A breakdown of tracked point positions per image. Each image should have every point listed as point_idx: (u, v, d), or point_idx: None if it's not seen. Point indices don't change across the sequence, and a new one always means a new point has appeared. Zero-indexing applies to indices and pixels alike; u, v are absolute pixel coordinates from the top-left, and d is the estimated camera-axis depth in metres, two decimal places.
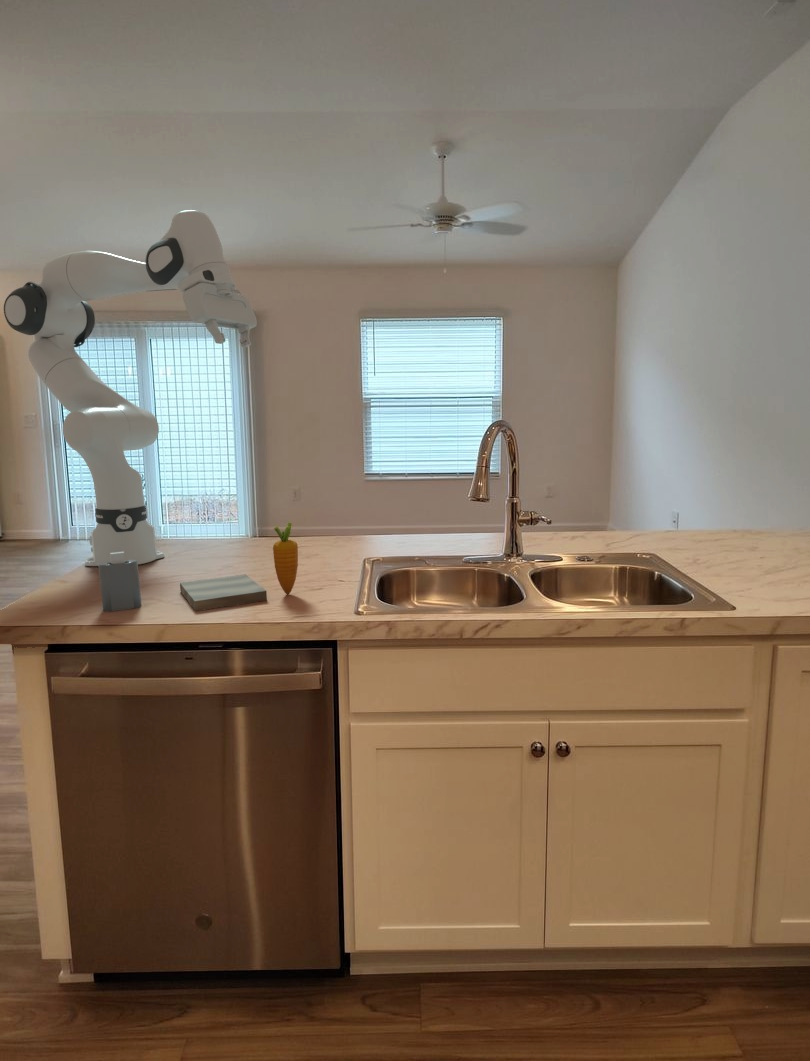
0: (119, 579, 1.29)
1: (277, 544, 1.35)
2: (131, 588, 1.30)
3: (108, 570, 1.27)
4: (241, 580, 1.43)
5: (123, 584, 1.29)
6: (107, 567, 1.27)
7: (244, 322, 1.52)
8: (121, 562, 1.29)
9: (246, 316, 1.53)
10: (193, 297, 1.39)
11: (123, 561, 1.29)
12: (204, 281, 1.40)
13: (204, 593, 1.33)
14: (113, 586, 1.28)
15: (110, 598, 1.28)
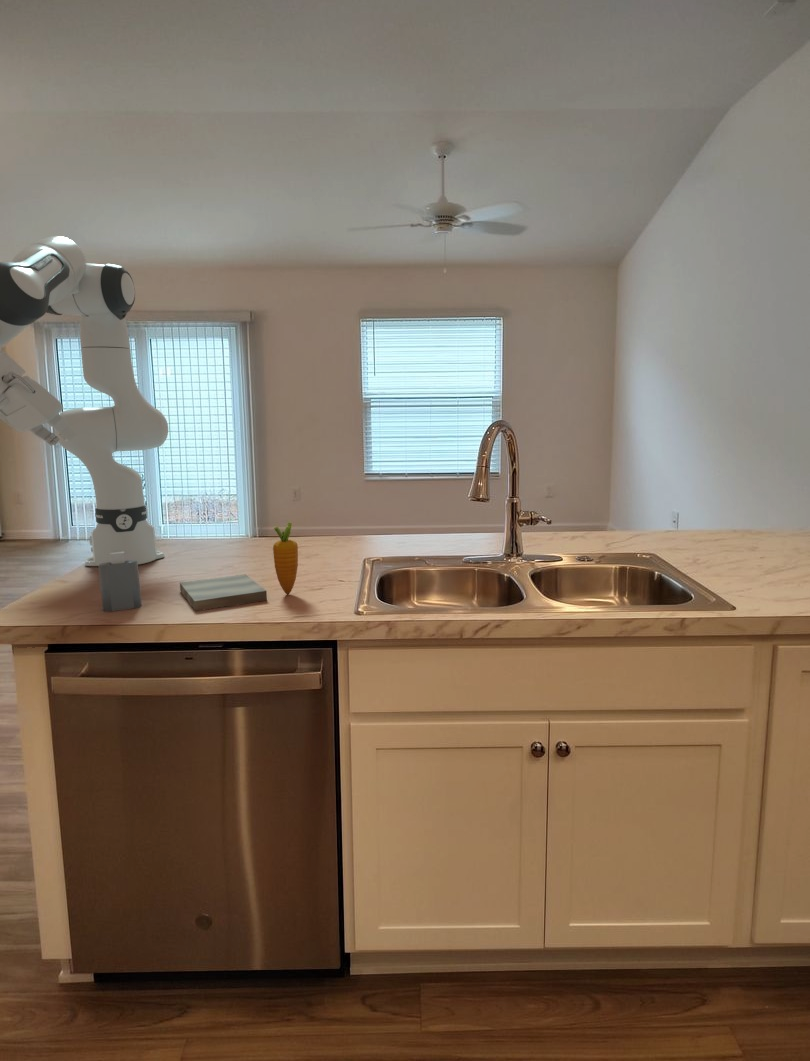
0: (119, 579, 1.29)
1: (277, 544, 1.35)
2: (131, 588, 1.30)
3: (108, 570, 1.27)
4: (241, 580, 1.43)
5: (123, 584, 1.29)
6: (107, 567, 1.27)
7: (40, 423, 1.14)
8: (121, 562, 1.29)
9: (34, 416, 1.12)
10: None
11: (123, 561, 1.29)
12: None
13: (204, 593, 1.33)
14: (113, 586, 1.28)
15: (110, 598, 1.28)
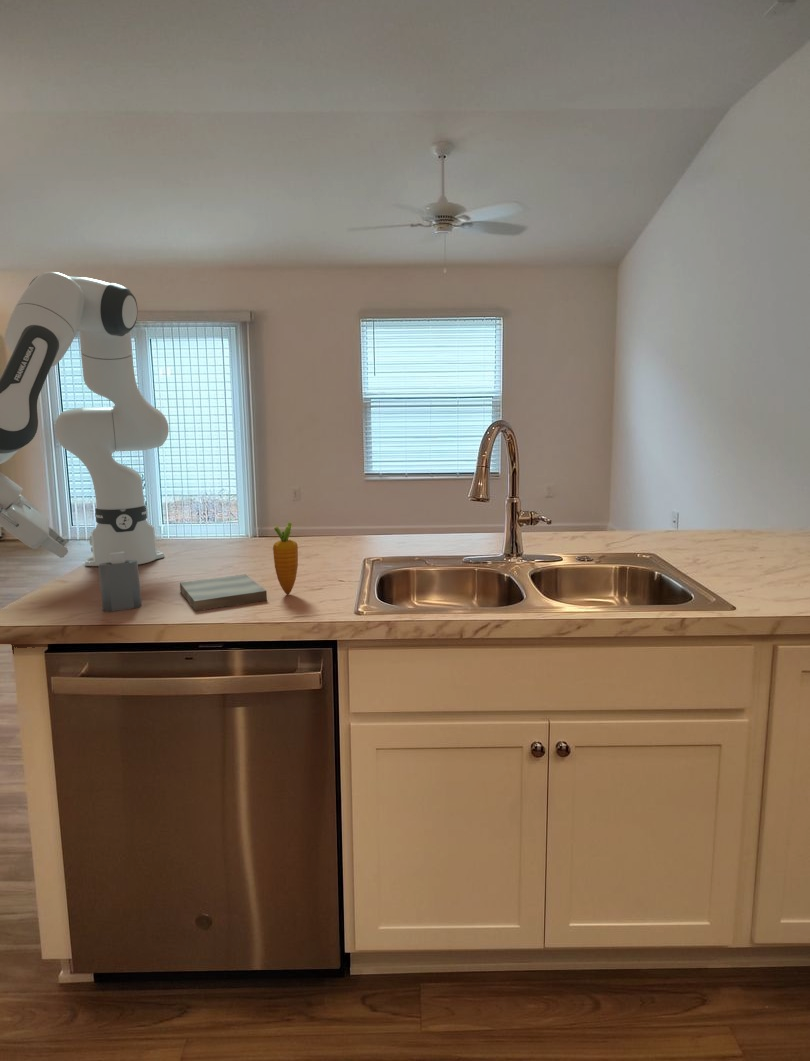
0: (119, 579, 1.29)
1: (277, 544, 1.35)
2: (131, 588, 1.30)
3: (108, 570, 1.27)
4: (241, 580, 1.43)
5: (123, 584, 1.29)
6: (107, 567, 1.27)
7: None
8: (121, 562, 1.29)
9: None
10: None
11: (123, 561, 1.29)
12: None
13: (204, 593, 1.33)
14: (113, 586, 1.28)
15: (110, 598, 1.28)
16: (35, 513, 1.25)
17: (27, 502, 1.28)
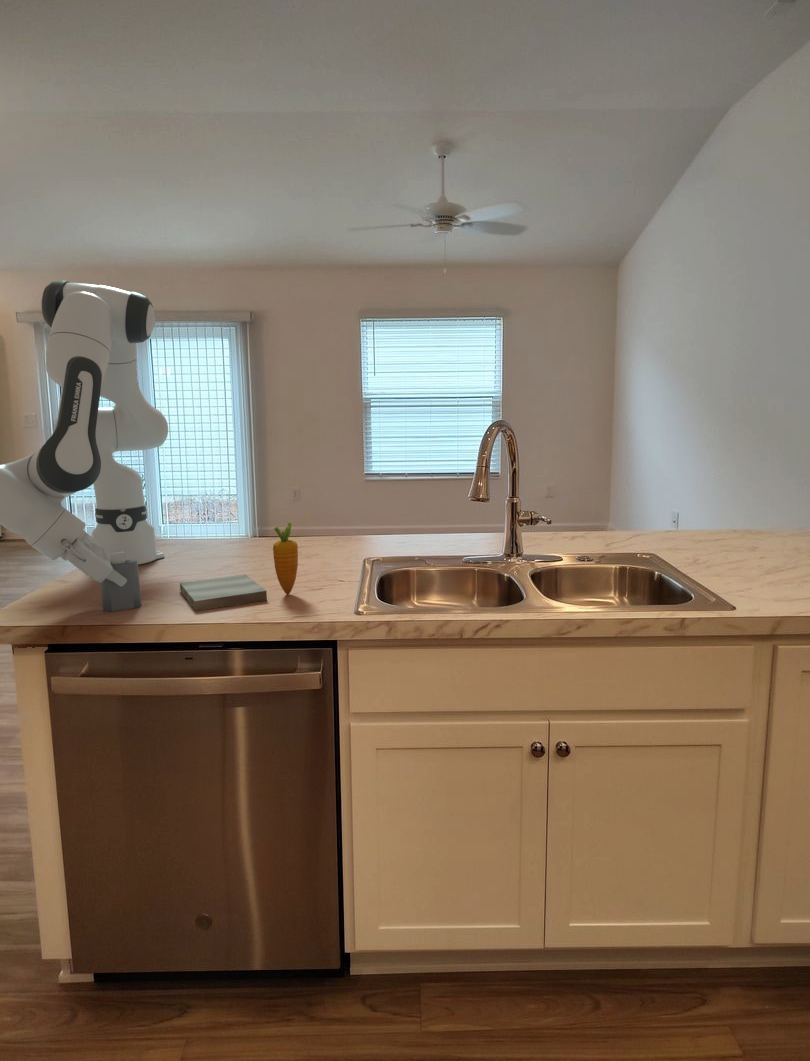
0: None
1: (277, 544, 1.35)
2: (131, 588, 1.30)
3: None
4: (241, 580, 1.43)
5: None
6: None
7: None
8: (121, 562, 1.29)
9: None
10: None
11: (123, 561, 1.29)
12: None
13: (204, 593, 1.33)
14: (113, 586, 1.28)
15: (110, 598, 1.28)
16: (95, 545, 1.31)
17: None
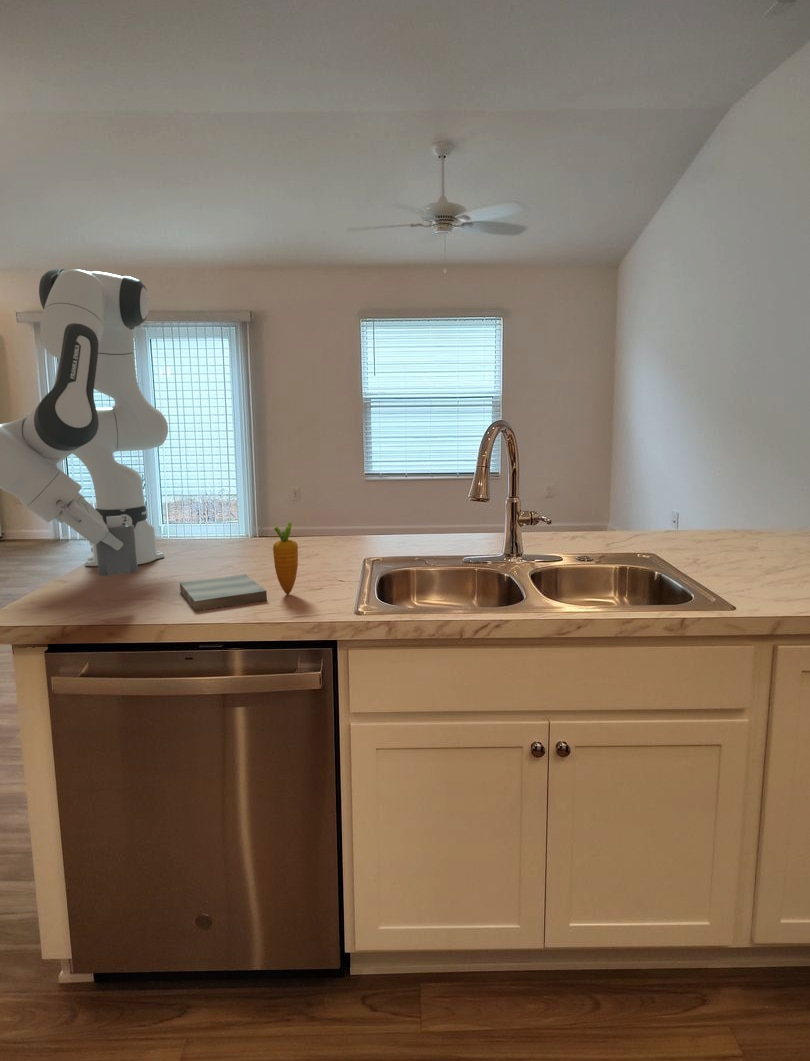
0: None
1: (277, 544, 1.35)
2: (127, 552, 1.29)
3: None
4: (241, 580, 1.43)
5: None
6: None
7: None
8: (117, 526, 1.28)
9: None
10: None
11: (119, 525, 1.28)
12: None
13: (204, 593, 1.33)
14: (109, 550, 1.27)
15: (106, 562, 1.27)
16: (91, 509, 1.29)
17: None
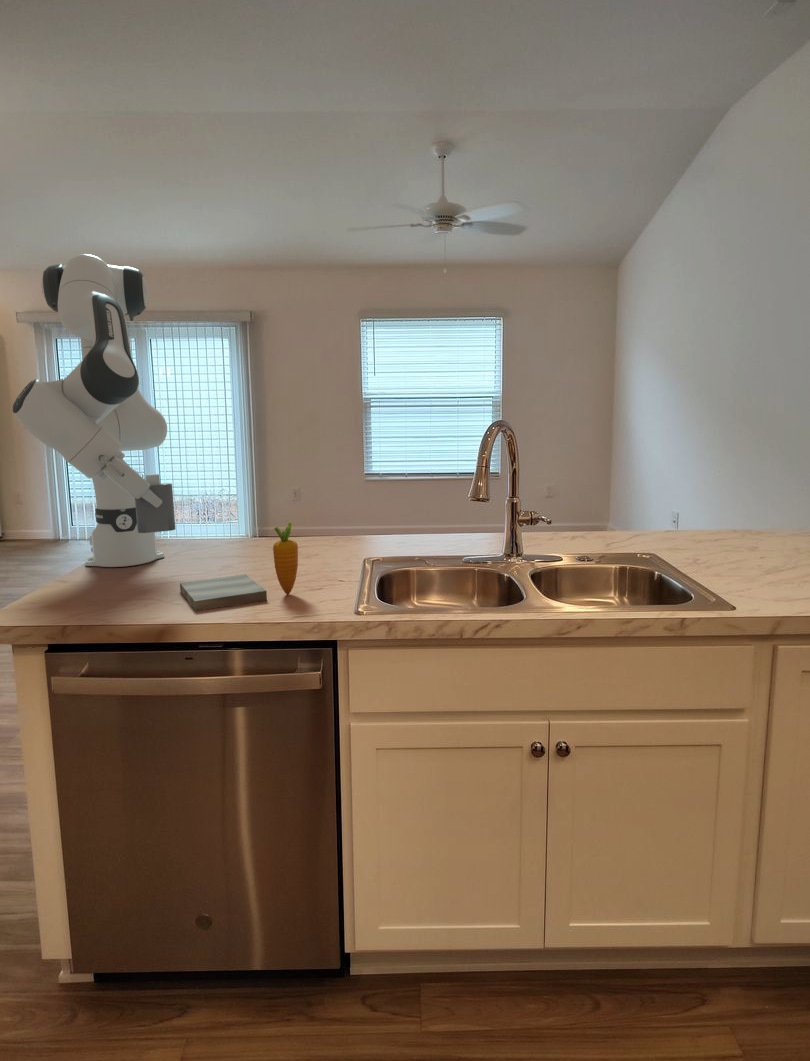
0: None
1: (277, 544, 1.35)
2: (166, 510, 1.30)
3: None
4: (241, 580, 1.43)
5: None
6: None
7: None
8: (156, 484, 1.29)
9: None
10: None
11: (158, 483, 1.29)
12: None
13: (204, 593, 1.33)
14: (148, 507, 1.28)
15: (145, 519, 1.28)
16: None
17: None
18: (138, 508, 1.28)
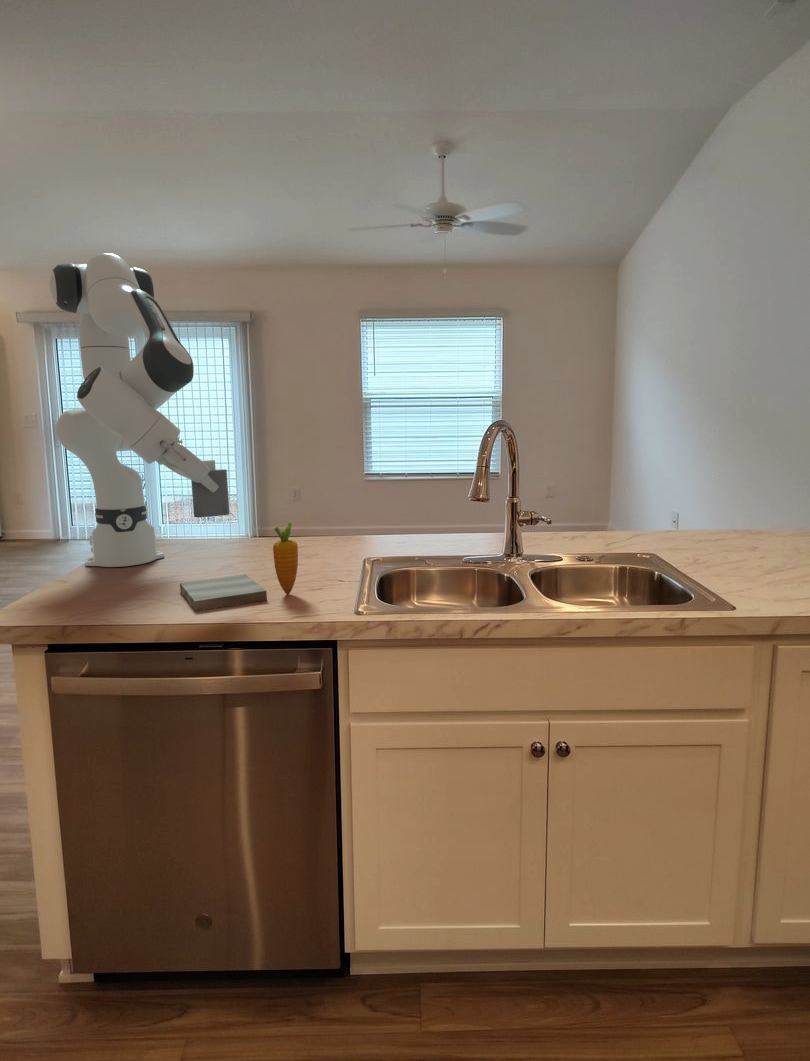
0: None
1: (277, 544, 1.35)
2: (221, 495, 1.33)
3: None
4: (241, 580, 1.43)
5: None
6: None
7: None
8: (212, 469, 1.33)
9: (187, 476, 1.26)
10: None
11: (214, 469, 1.33)
12: None
13: (204, 593, 1.33)
14: (205, 492, 1.32)
15: (202, 504, 1.32)
16: None
17: None
18: (195, 493, 1.31)
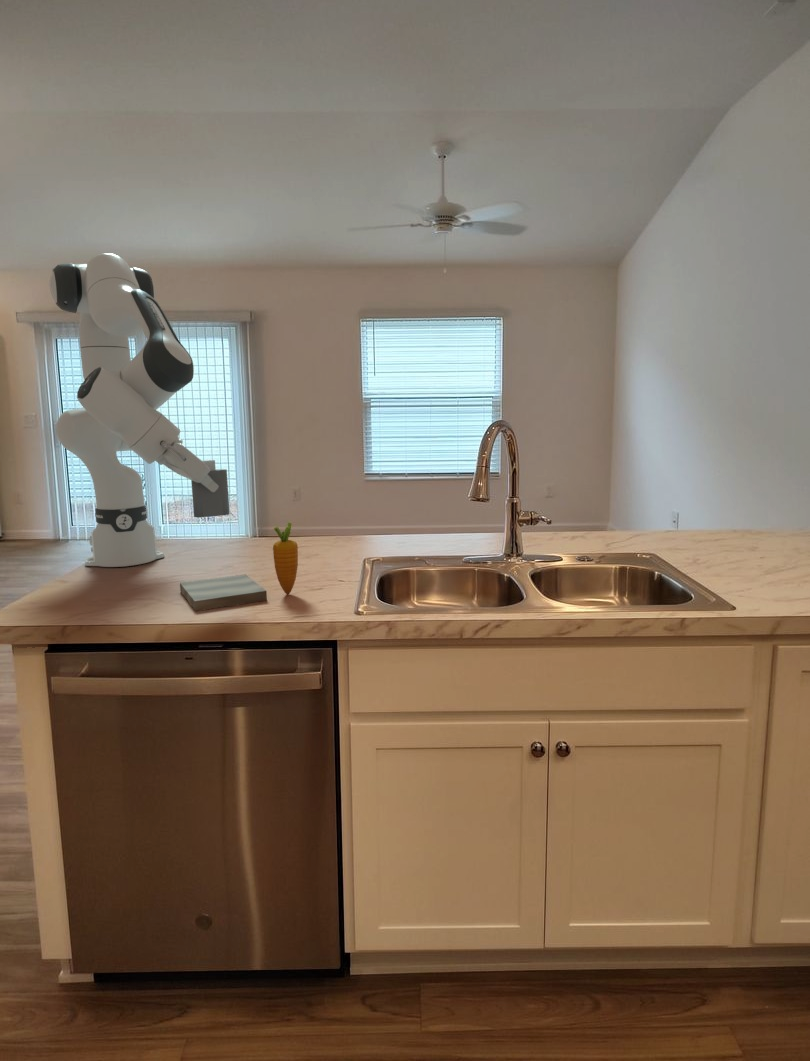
0: None
1: (277, 544, 1.35)
2: (221, 495, 1.33)
3: None
4: (241, 580, 1.43)
5: None
6: None
7: None
8: (212, 469, 1.33)
9: (187, 476, 1.26)
10: None
11: (214, 469, 1.33)
12: None
13: (204, 593, 1.33)
14: (205, 492, 1.32)
15: (202, 504, 1.32)
16: None
17: None
18: (195, 493, 1.31)
